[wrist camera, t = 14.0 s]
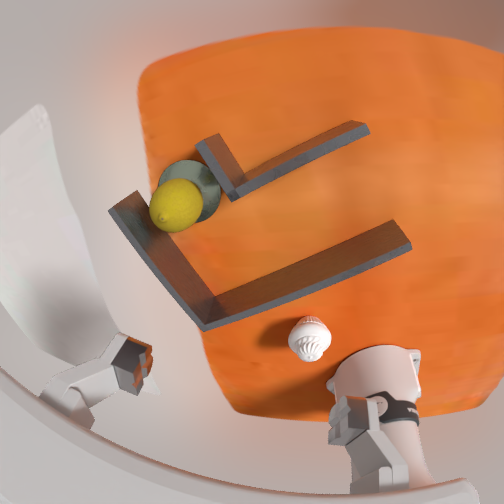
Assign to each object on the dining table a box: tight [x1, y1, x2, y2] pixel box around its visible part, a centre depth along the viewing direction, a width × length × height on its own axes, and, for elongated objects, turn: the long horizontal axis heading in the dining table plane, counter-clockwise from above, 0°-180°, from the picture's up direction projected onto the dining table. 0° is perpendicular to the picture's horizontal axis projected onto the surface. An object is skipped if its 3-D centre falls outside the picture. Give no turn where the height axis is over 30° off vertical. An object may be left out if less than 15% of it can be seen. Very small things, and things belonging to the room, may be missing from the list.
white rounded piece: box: [288, 316, 331, 362], centre depth 38 cm, size 6×6×7 cm
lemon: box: [149, 178, 203, 233], centre depth 29 cm, size 6×6×8 cm
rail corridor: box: [108, 120, 412, 332], centre depth 30 cm, size 20×28×6 cm
